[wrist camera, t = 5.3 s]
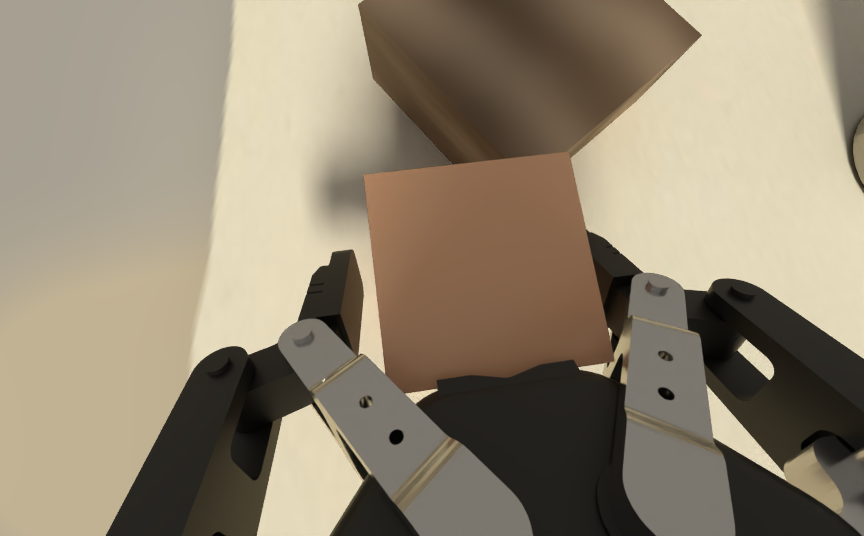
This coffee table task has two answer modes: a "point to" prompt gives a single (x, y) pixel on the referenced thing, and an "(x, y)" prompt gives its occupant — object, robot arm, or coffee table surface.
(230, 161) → the coffee table surface
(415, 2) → the walnut block
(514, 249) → the peach block
